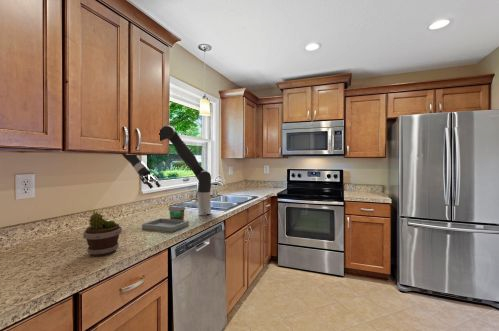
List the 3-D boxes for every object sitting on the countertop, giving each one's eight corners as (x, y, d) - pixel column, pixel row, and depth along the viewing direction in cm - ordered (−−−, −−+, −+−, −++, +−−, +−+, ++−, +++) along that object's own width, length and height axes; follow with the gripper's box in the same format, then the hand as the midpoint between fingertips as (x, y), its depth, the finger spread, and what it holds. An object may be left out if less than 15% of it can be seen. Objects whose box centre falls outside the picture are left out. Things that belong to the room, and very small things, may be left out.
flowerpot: (106, 245, 118) (105, 204, 117) (129, 249, 112) (128, 206, 112) (75, 256, 104) (74, 210, 104) (100, 261, 98) (99, 212, 98)
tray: (160, 222, 160) (160, 218, 160) (188, 225, 152) (188, 220, 152) (142, 229, 145) (142, 224, 145) (172, 232, 137) (172, 227, 137)
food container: (164, 221, 162) (164, 207, 162) (170, 219, 168) (170, 205, 168) (180, 223, 158) (179, 208, 158) (185, 220, 164) (185, 206, 164)
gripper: (138, 166, 161) (153, 184, 158) (152, 166, 175) (165, 182, 172) (131, 173, 162) (145, 191, 160) (145, 173, 176) (158, 189, 174)
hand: (155, 187), depth 166 cm, fingers open, 8 cm apart
